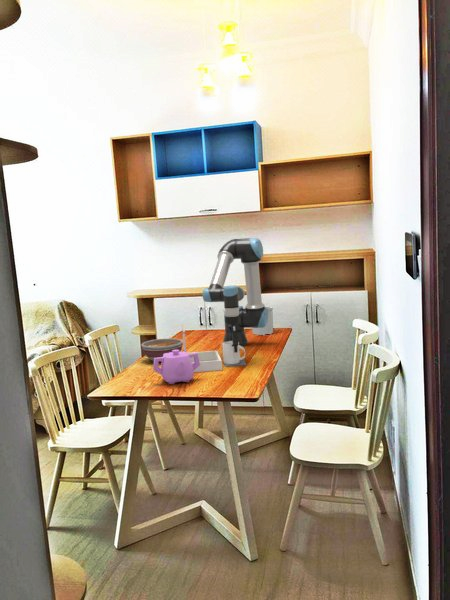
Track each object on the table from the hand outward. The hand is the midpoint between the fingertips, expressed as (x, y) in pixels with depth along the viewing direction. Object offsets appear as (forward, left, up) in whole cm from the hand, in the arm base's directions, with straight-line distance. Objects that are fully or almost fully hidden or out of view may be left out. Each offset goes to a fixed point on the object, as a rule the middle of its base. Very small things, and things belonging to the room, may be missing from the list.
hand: (234, 355), depth 297 cm
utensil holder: (-28, -78, -5) cm, 83 cm away
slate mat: (0, 0, -4) cm, 4 cm away
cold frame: (+17, -1, -4) cm, 18 cm away
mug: (0, +1, -4) cm, 4 cm away
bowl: (+38, -23, -5) cm, 44 cm away
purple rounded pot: (+31, +25, -5) cm, 40 cm away
